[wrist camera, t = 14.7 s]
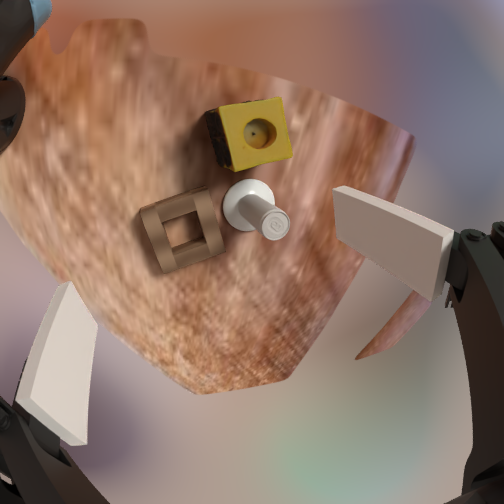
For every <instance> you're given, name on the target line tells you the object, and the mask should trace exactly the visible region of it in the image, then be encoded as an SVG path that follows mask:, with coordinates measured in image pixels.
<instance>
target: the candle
mask: <svg viewBox="0 0 504 504" xmlns="http://www.w3.org/2000/svg"><path fill="white" fill-rule="evenodd" d="M205 116H206V121H207V124H208V129H209V133H210V137H211V140H212V144H213V147H214V149H215V153H216V156H217V162H218V164H219V165H220V166H221V167H224V168H228V169H230V170H232V171H234V172H237V171H241V170H245V169H248V168H252V167H254V166H257V165H261V164H265V163H269V162H275V161H279V160H283V159H288V158H291V157H292V156H293V153H292V148H291V144H290V140H289V136H288V132H287V126H286V121H285V116H284V109H283V103H282V98H281V97H274V98H271V99H267V100H256V101H253V102H252V101H246V102H243V103H239V104H231V105H226V106H221V107H218V108H217V109H212V110H209V111H206V112H205Z"/></svg>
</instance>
